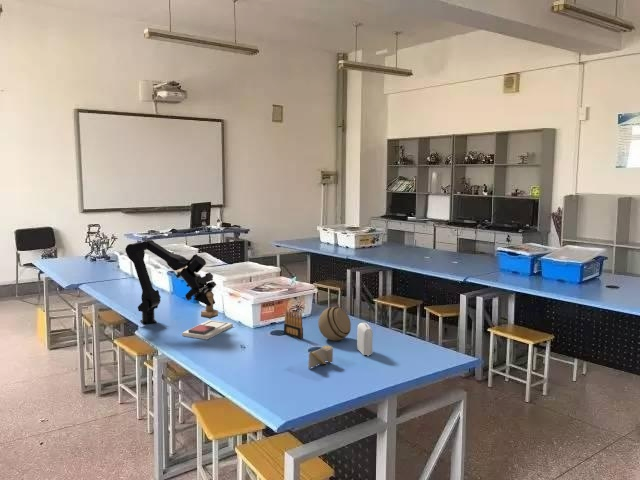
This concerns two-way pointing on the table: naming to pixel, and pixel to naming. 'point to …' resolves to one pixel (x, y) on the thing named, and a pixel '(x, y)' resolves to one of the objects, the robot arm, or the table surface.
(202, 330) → the ink pad
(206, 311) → the stamp
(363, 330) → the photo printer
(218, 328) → the stamping board
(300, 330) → the ammunition clip
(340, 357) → the table surface
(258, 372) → the table surface
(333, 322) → the brown grooved ball
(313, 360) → the model
